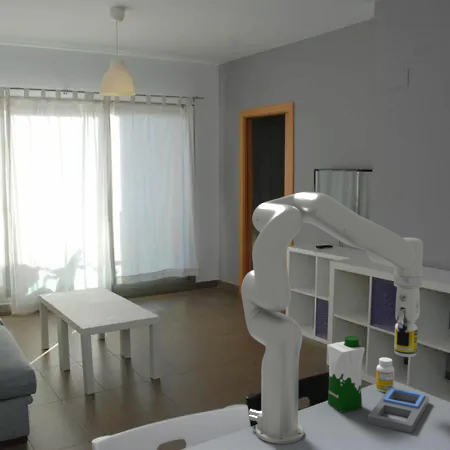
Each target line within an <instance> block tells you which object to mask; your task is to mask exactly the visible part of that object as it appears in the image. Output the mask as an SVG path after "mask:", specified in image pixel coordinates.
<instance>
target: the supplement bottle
mask: <svg viewBox="0 0 450 450" xmlns="http://www.w3.org/2000/svg"><path fill="white" fill-rule="evenodd" d="M375 374H376V375H375V389H376V390H377V391H378V392H382V393H386V392H387V391H388V389H389V388H390V389H392V388H395V367H394V366H393V359H392V358H389V357H386V356H385V357H383V356H382V357H380V358H379V359H378V364H377V366H376V373H375Z"/></svg>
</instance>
